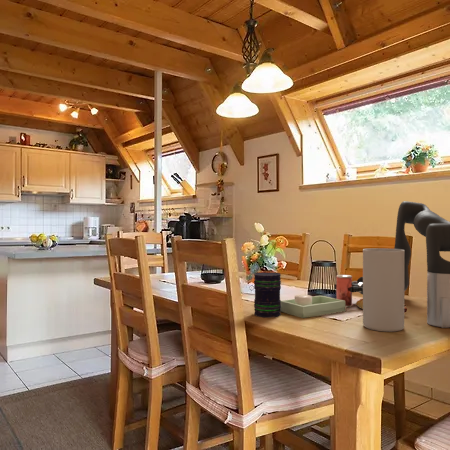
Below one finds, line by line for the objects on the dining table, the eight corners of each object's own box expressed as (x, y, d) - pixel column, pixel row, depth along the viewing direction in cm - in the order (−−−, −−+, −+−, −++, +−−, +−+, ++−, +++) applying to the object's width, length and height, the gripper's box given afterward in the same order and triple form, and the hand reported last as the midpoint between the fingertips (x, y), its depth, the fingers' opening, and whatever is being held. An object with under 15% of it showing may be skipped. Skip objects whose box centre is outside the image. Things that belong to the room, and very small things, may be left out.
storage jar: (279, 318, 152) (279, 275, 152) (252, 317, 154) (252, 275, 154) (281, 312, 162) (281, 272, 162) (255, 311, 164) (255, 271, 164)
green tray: (320, 305, 174) (320, 295, 174) (345, 311, 163) (345, 300, 163) (279, 311, 163) (279, 300, 163) (303, 318, 152) (303, 306, 152)
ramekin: (315, 309, 158) (314, 297, 158) (298, 310, 157) (298, 298, 157) (308, 306, 164) (307, 294, 164) (292, 307, 163) (292, 295, 163)
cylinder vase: (371, 320, 148) (371, 247, 147) (409, 326, 140) (409, 249, 139) (356, 328, 138) (356, 250, 138) (396, 334, 130) (396, 251, 130)
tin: (354, 306, 171) (354, 276, 171) (339, 307, 170) (339, 276, 170) (348, 303, 177) (348, 274, 177) (334, 304, 176) (334, 274, 176)
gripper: (357, 274, 188) (329, 276, 179) (384, 278, 176) (356, 281, 167) (357, 291, 188) (329, 295, 179) (384, 296, 176) (356, 300, 167)
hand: (342, 288), depth 173 cm, fingers open, 8 cm apart
